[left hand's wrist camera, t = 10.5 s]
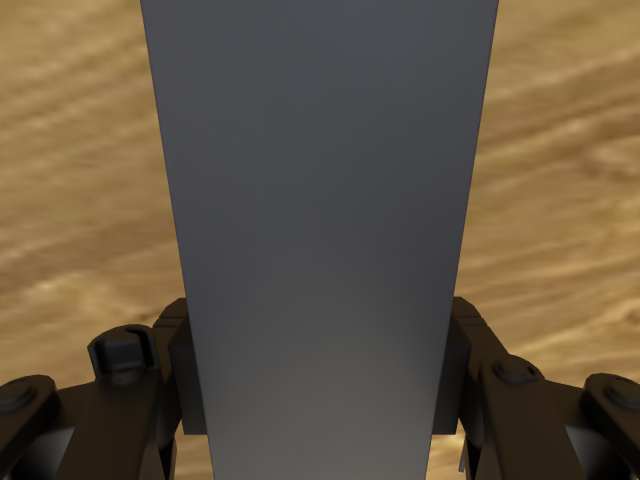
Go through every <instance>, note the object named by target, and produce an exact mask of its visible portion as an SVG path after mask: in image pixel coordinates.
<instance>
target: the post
mask: <svg viewBox="0 0 640 480" xmlns="http://www.w3.org/2000/svg"><path fill="white" fill-rule="evenodd" d="M140 3H141V9H142V16H143V22H144V29H145V35H146V41H147V48H148V54H149V61H150V67H151V74H152V80H153V87H154V93H155V100H156V106H157V113H158V119H159V125H160V132H161V138H162V145H163V151H164V158H165V164H166V171H167V177H168V184H169V190H170V197H171V203H172V209H173V216H174V222H175V229H176V235H177V242H178V248H179V255H180V261H181V268H182V274H183V281H184V287H185V294H186V300H187V306H188V313H189V319H190V326H191V332H192V339H193V345H194V352H195V358H196V365H197V371H198V378H199V384H200V390H201V397H202V403H203V410H204V416H205V423H206V429H207V436H208V442H209V449H210V455H211V462H212V468H213V474H214V480H425V478H426V471H427V465H428V458H429V452H430V445H431V439H432V432H433V426H434V419H435V413H436V406H437V400H438V393H439V387H440V380H441V374H442V367H443V361H444V354H445V348H446V341H447V335H448V328H449V322H450V315H451V309H452V302H453V296H454V289H455V283H456V276H457V270H458V263H459V257H460V250H461V244H462V237H463V231H464V224H465V218H466V211H467V205H468V198H469V192H470V185H471V179H472V172H473V166H474V159H475V153H476V146H477V140H478V133H479V127H480V120H481V114H482V107H483V101H484V94H485V88H486V81H487V75H488V68H489V62H490V55H491V49H492V42H493V35H494V29H495V22H496V16H497V9H498V3H499V0H140Z"/></svg>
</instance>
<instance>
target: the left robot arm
mask: <svg viewBox="0 0 640 480" xmlns="http://www.w3.org/2000/svg"><path fill="white" fill-rule="evenodd" d="M87 349H88V352H89V356H90V359H91V362H92V366H93V369H94V373H95V376H96V379H95V381H93V382H90V383H86V384H82V385H77V386H73V387H68V388H64V389H59V390H57V388H56V385H55V382H54V380H53V379H52V378H50V377H49V376H45V375H31V376H25V377H22V378H18V379H15V380H12V381H10V382H8V383H6V384H4V385H2V386H0V480H174V473H175V463H176V453H177V446H176V440H175V435H174V434H175V432H176V429H177V427H178V425H179V422H180V420H182V425H183V430H184V435H207V429H206V423H205V416H204V410H203V403H202V397H201V390H200V384H199V378H198V371H197V365H196V358H195V352H194V345H193V339H192V332H191V326H190V319H189V313H188V306H187V300H186V298H179V299H177V300H176V301H174V302H173V303H171V304H170V305H168V306H167V307H166V308H165V309H164V311H163V312H162V314H161V315H160V316H159V319H157V320H156V322H155V323H154V324H153V328H150V327H148V326H145V325H141V324H129V325H124V326H119V327H115V328H113V329H110V330H108V331H106V332H103V333H102V334H100V335H99V336H97V337H96V338H94V339H93V340H92V341H91V343H90V344H89V345H88V346H87ZM458 418H459V419H460V421H461V423H462V426H463V428H464V430H465V433H466V435H465V440H464V445H463V450H462V455H461V460H460V465H459V472H464V468H465V472H466V480H636V479H637V478H638V479H639V480H640V384H638V383H636V382H634V381H632V380H630V379H627V378H624V377H621V376H617V375H613V374H606V373H598V374H592V375H590V376H589V377H588V378H587V379H586V381H585V384H584V387H583V388H579V387H574V386H570V385H565V384H560V383H556V382H552V381H549V380H545V378H544V376H543V375H542V373H541V372H540V371H539V369H538V368H536V367H535V366H534V365H533V364H531V363H530V362H529V361H526V360H524V359H522V358H520V357H518V356H515V355H511V354H509V353H508V352H507V350H506V349H505V348H504V346H503V345H502V344H501V342H500V341H499V340H498V338H497V337H496V335H495V334H494V333H493V331H492V330H491V329H490V327H489V326H487V323H486V322H485V320H484V319H483V318H481V315H480V314H479V312H478V311H477V310H476V308H475V307H474V305H472V304H471V303H469V302H468V301H466V300H465V299H463V298H462V297H453V302H452V309H451V315H450V322H449V328H448V335H447V341H446V348H445V354H444V361H443V367H442V374H441V380H440V387H439V393H438V400H437V406H436V413H435V419H434V426H433V432H432V435H455V434H456V429H457V424H458Z"/></svg>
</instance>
